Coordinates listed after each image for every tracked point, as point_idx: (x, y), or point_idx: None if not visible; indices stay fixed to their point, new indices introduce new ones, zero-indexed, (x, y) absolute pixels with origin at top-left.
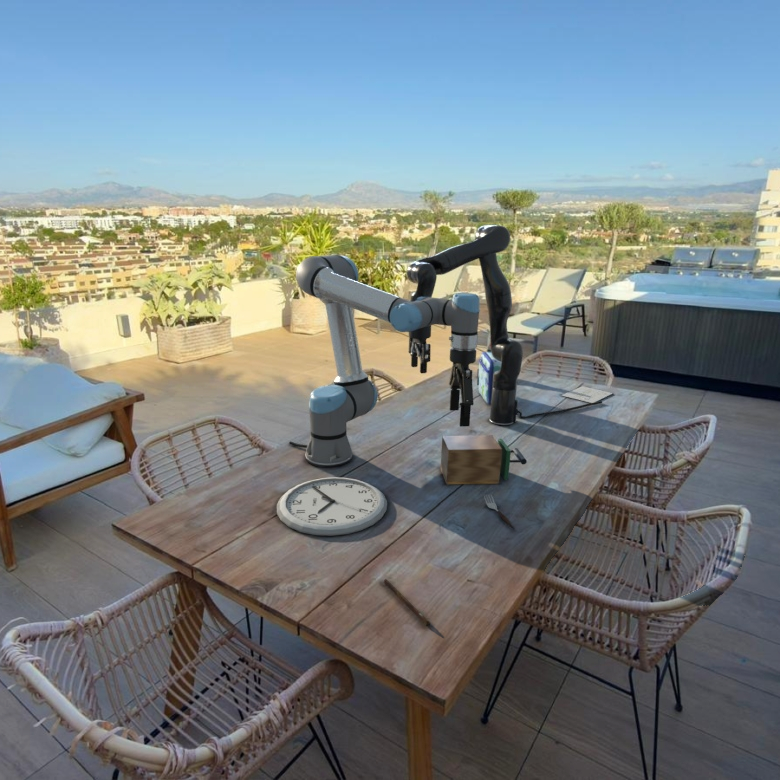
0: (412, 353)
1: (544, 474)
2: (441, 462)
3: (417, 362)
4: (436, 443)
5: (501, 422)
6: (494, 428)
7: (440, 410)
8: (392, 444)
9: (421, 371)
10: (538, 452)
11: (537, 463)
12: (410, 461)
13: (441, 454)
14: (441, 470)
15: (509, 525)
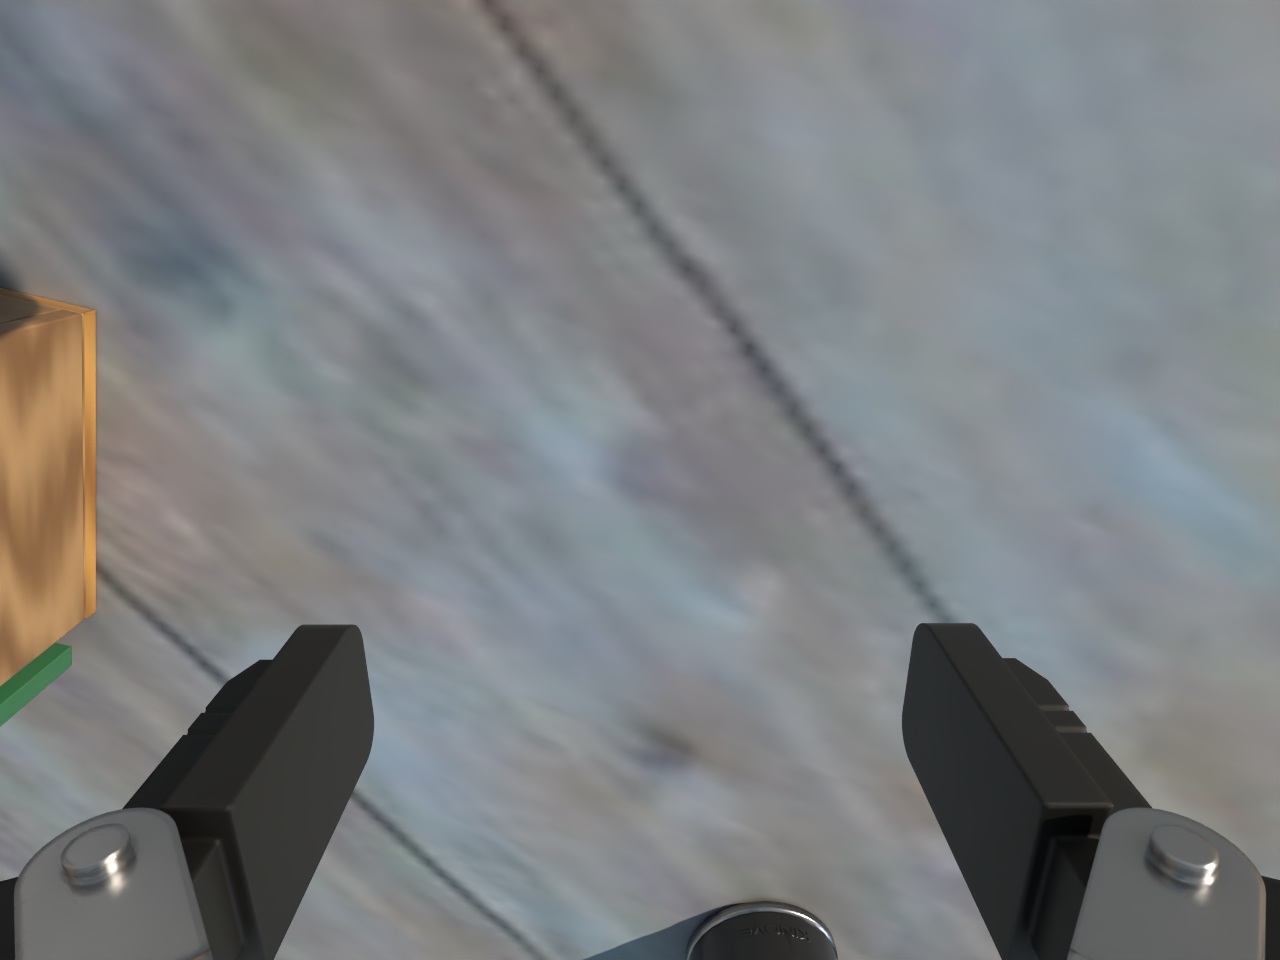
0: (1074, 933)
1: (3, 822)
2: (29, 314)
3: (939, 814)
4: (530, 453)
5: (700, 945)
6: (672, 877)
7: (1120, 718)
8: (597, 102)
9: (295, 656)
10: None
11: None
12: (240, 133)
13: (2, 329)
14: (51, 301)
15: None
